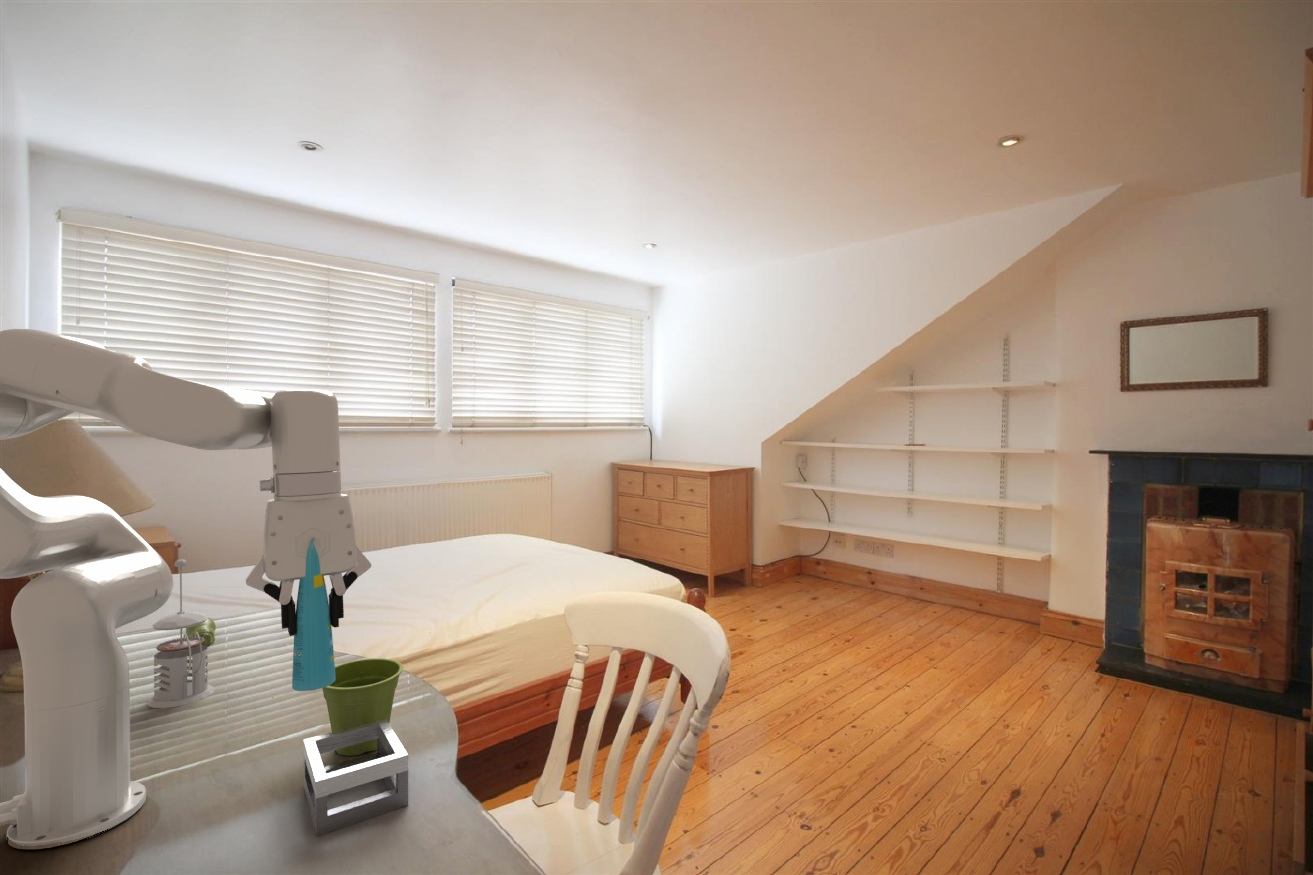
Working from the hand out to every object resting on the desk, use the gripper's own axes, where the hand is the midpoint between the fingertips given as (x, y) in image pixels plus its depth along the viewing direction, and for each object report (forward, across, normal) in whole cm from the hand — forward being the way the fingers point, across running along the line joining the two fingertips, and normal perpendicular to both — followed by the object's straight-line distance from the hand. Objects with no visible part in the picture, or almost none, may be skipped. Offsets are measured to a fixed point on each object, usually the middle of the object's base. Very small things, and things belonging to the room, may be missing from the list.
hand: (313, 627), depth 79 cm
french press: (+22, -16, +51) cm, 58 cm away
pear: (+22, -14, +87) cm, 91 cm away
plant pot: (+23, +7, +14) cm, 28 cm away
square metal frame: (+23, +4, 0) cm, 23 cm away
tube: (+8, 0, 0) cm, 8 cm away
